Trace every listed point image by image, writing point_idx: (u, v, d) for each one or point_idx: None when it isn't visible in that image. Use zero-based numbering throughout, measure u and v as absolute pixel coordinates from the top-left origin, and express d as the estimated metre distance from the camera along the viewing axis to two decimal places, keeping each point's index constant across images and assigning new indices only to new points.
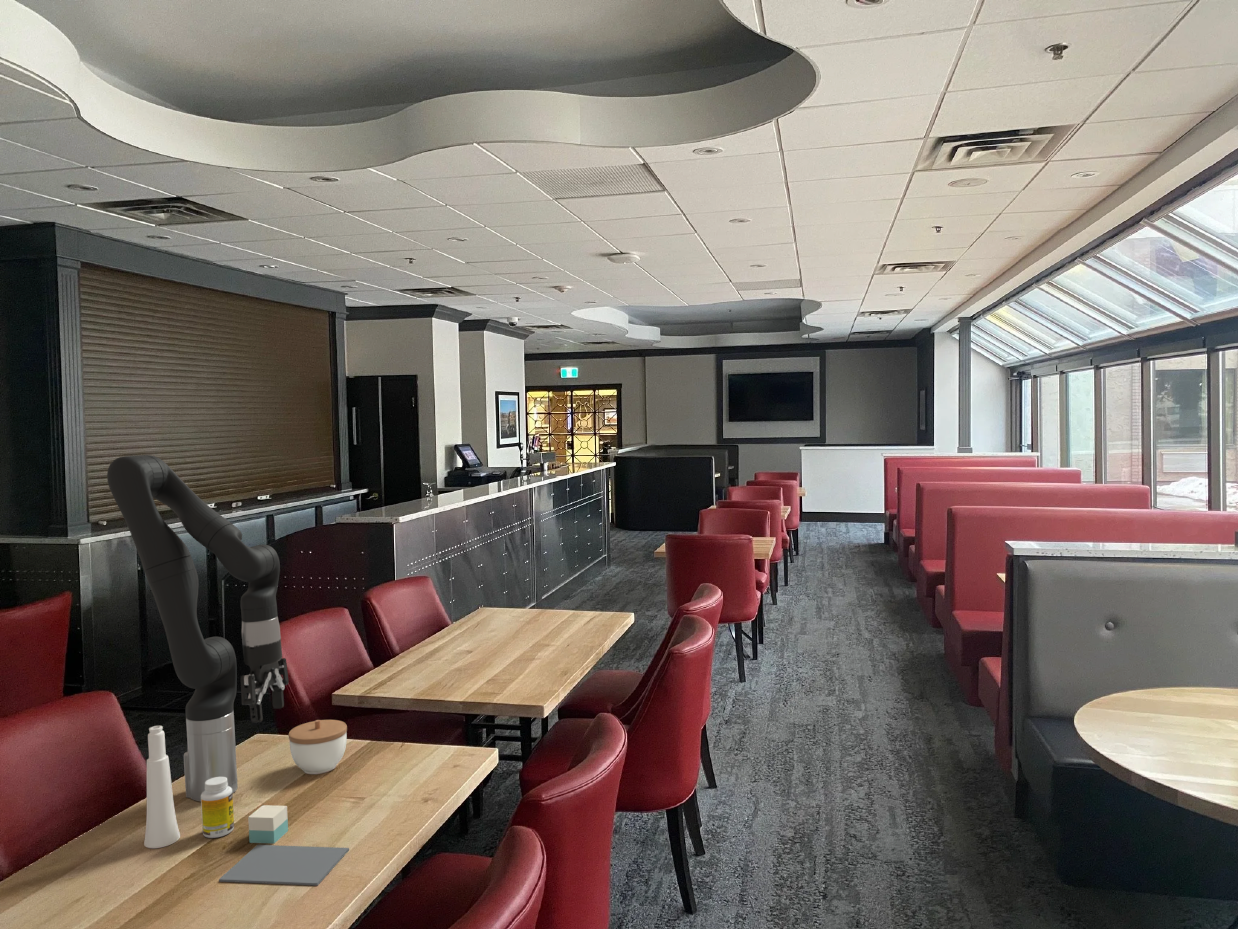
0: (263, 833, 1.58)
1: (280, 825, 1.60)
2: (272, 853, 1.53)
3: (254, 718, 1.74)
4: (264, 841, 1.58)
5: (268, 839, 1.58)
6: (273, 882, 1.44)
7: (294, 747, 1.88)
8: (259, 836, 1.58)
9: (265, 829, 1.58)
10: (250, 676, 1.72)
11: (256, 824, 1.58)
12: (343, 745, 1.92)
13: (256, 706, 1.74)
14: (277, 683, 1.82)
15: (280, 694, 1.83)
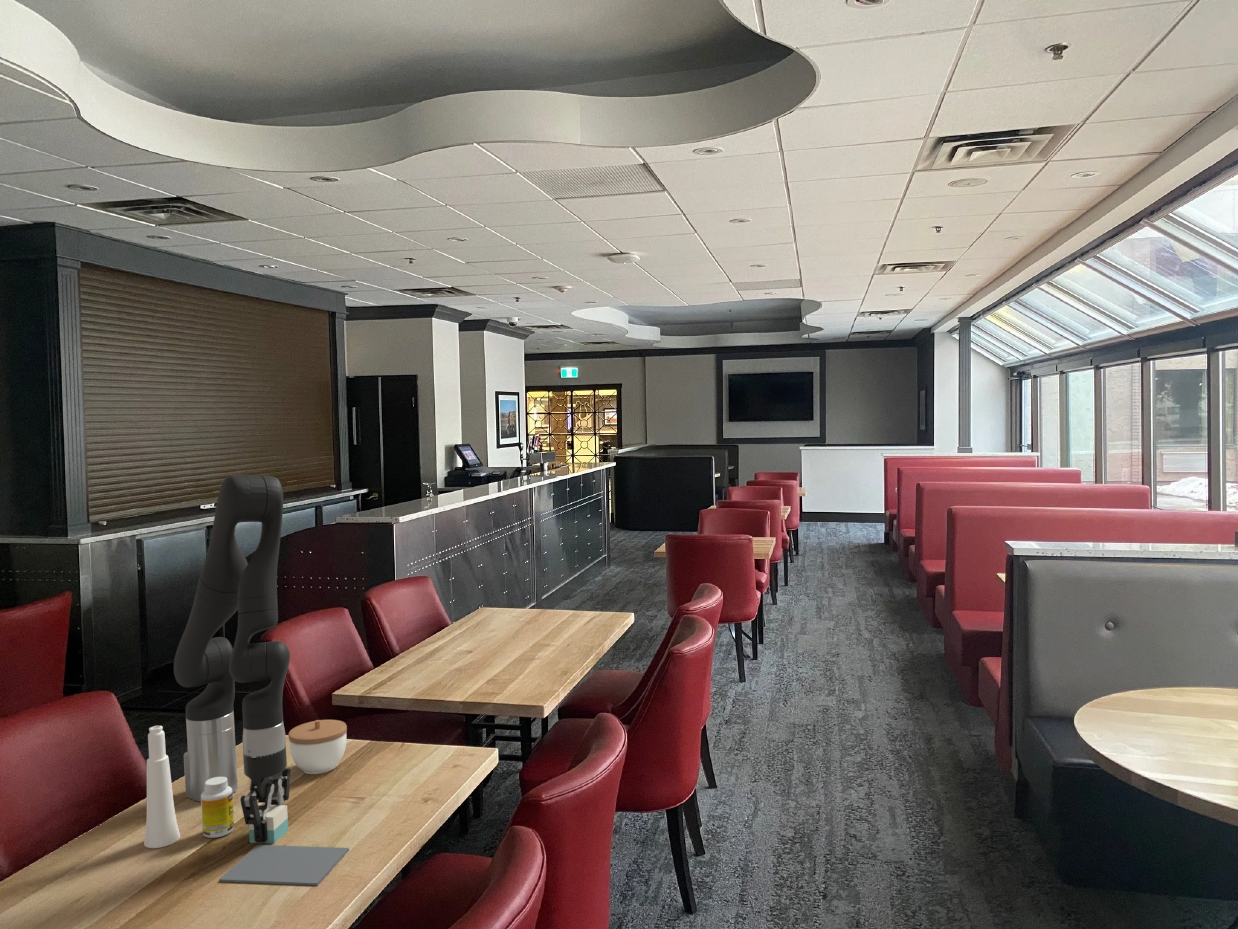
0: None
1: (280, 825, 1.60)
2: (272, 853, 1.53)
3: (258, 838, 1.57)
4: None
5: (268, 839, 1.58)
6: (273, 882, 1.44)
7: (294, 747, 1.88)
8: None
9: None
10: (251, 798, 1.54)
11: None
12: (343, 745, 1.92)
13: (261, 825, 1.57)
14: (277, 797, 1.62)
15: None
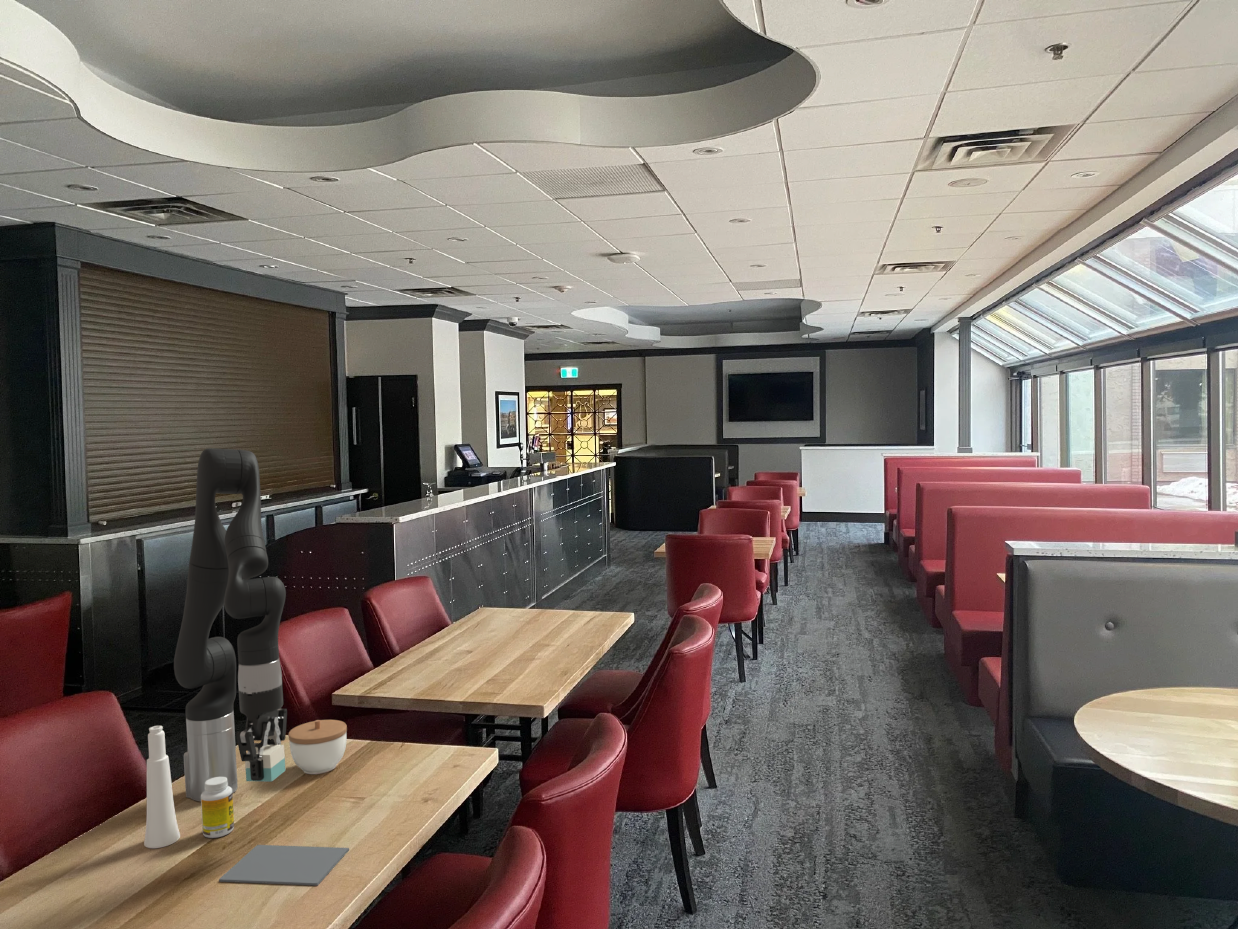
0: None
1: (277, 764, 1.58)
2: (272, 853, 1.53)
3: (254, 776, 1.55)
4: None
5: (265, 777, 1.56)
6: (273, 882, 1.44)
7: (294, 747, 1.88)
8: None
9: None
10: (247, 734, 1.51)
11: None
12: (343, 745, 1.92)
13: (257, 762, 1.54)
14: (274, 736, 1.60)
15: None
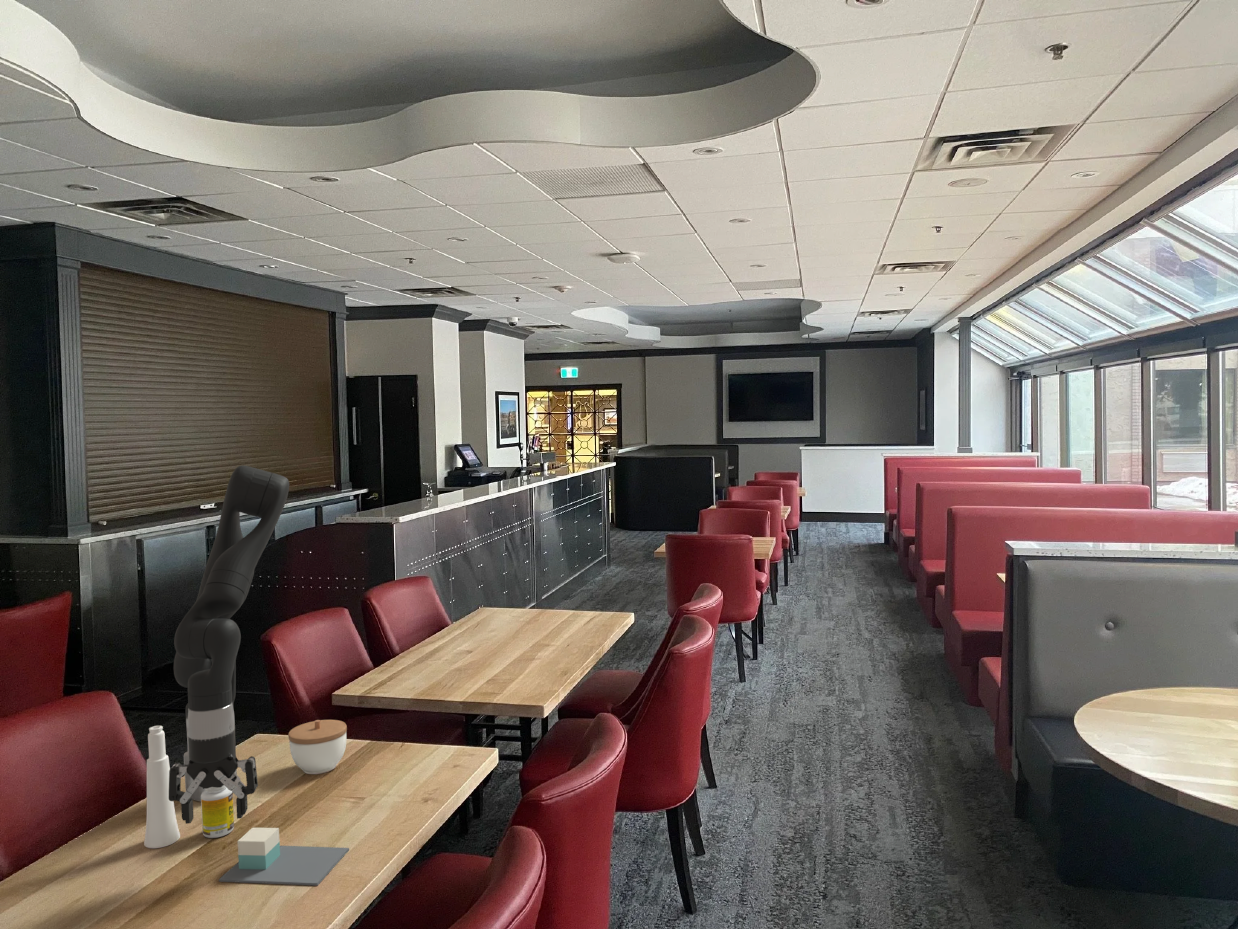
0: (254, 858, 1.48)
1: (272, 849, 1.50)
2: None
3: None
4: (255, 866, 1.48)
5: (259, 865, 1.48)
6: (273, 882, 1.44)
7: (294, 747, 1.88)
8: (249, 861, 1.48)
9: (256, 854, 1.48)
10: (171, 768, 1.48)
11: (246, 848, 1.48)
12: (343, 745, 1.92)
13: (182, 804, 1.48)
14: None
15: None
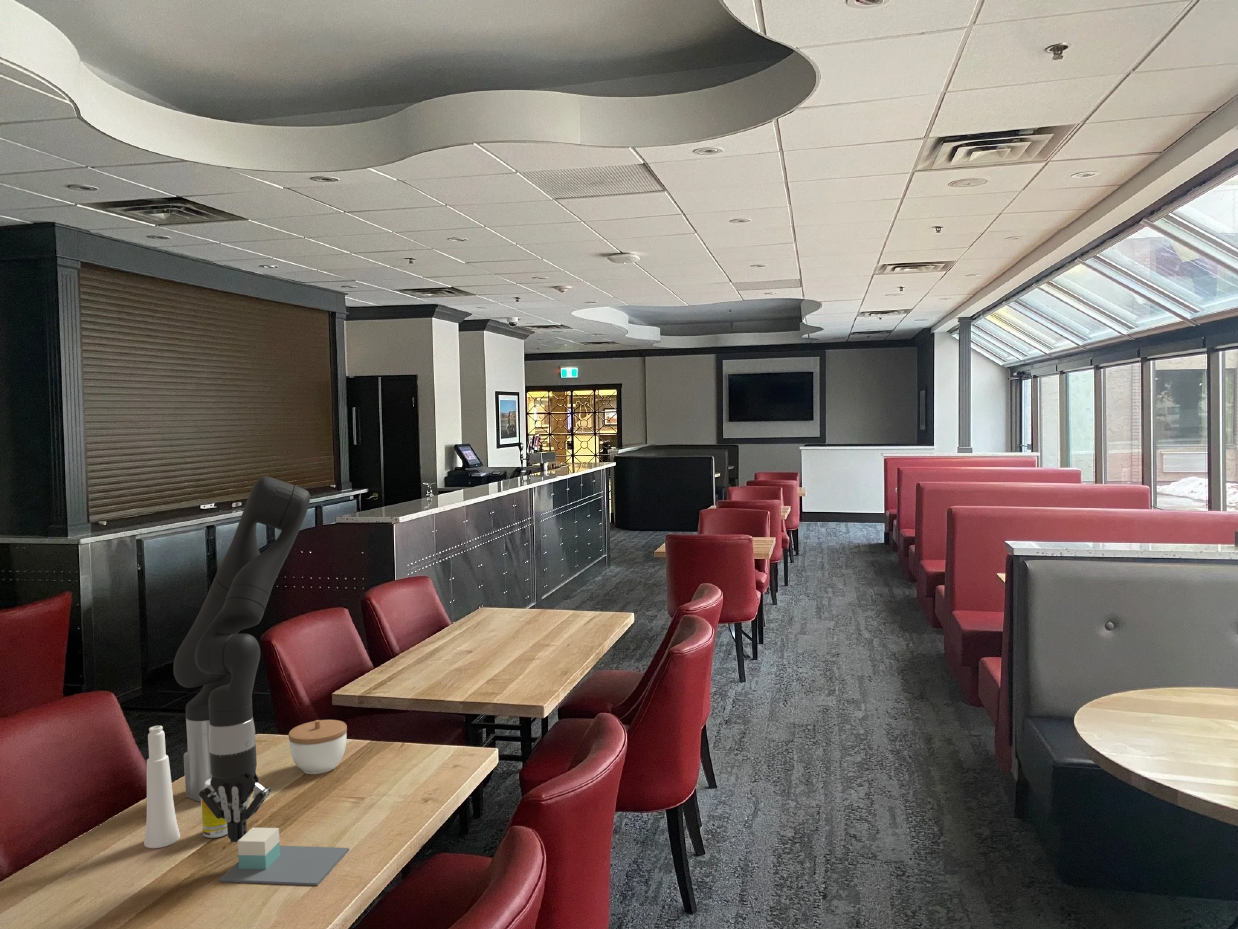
0: (254, 858, 1.48)
1: (272, 849, 1.50)
2: None
3: None
4: (255, 866, 1.48)
5: (259, 865, 1.48)
6: (273, 882, 1.44)
7: (294, 747, 1.88)
8: (249, 861, 1.48)
9: (256, 854, 1.48)
10: None
11: (246, 848, 1.48)
12: (343, 745, 1.92)
13: (228, 822, 1.50)
14: None
15: None
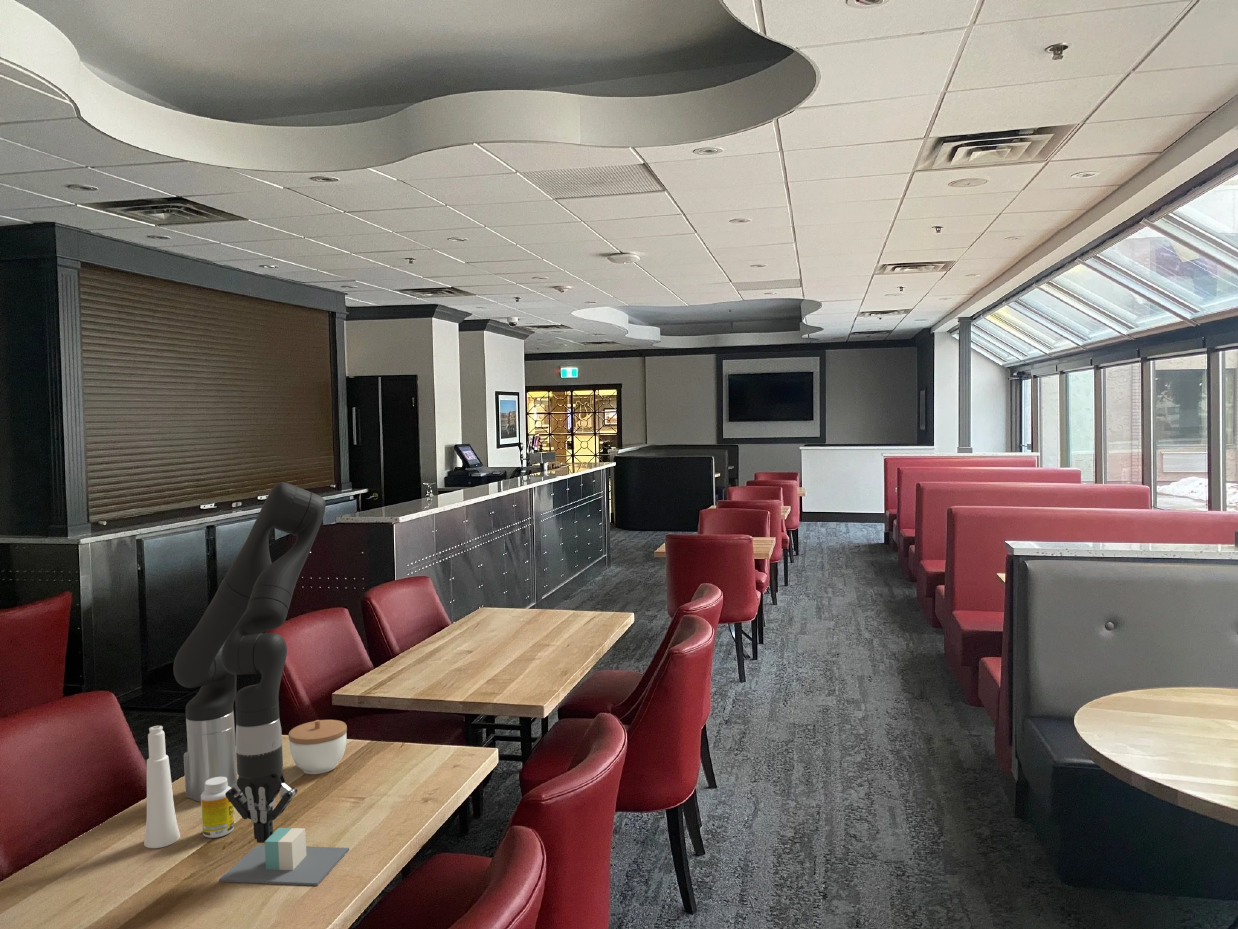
0: (276, 858, 1.47)
1: None
2: None
3: None
4: (267, 858, 1.48)
5: (269, 862, 1.48)
6: (273, 882, 1.44)
7: (294, 747, 1.88)
8: (272, 853, 1.47)
9: (280, 860, 1.47)
10: None
11: (284, 850, 1.47)
12: (343, 745, 1.92)
13: (254, 823, 1.49)
14: None
15: None
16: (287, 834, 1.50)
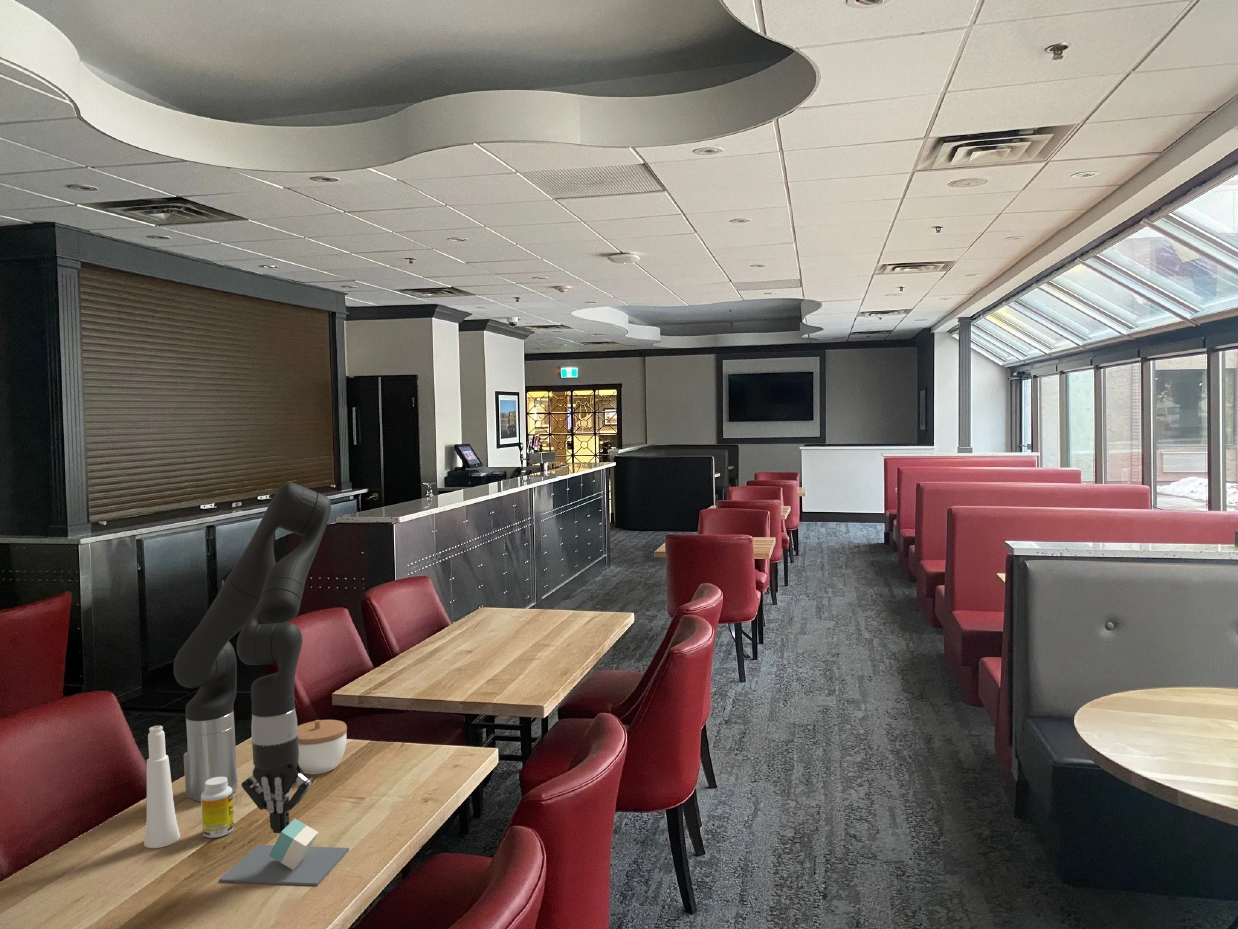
0: (283, 851, 1.47)
1: None
2: None
3: None
4: (275, 847, 1.47)
5: (275, 852, 1.47)
6: (273, 882, 1.44)
7: None
8: (282, 845, 1.47)
9: (286, 855, 1.47)
10: None
11: (295, 850, 1.47)
12: (343, 745, 1.92)
13: (270, 813, 1.49)
14: None
15: None
16: (302, 832, 1.50)
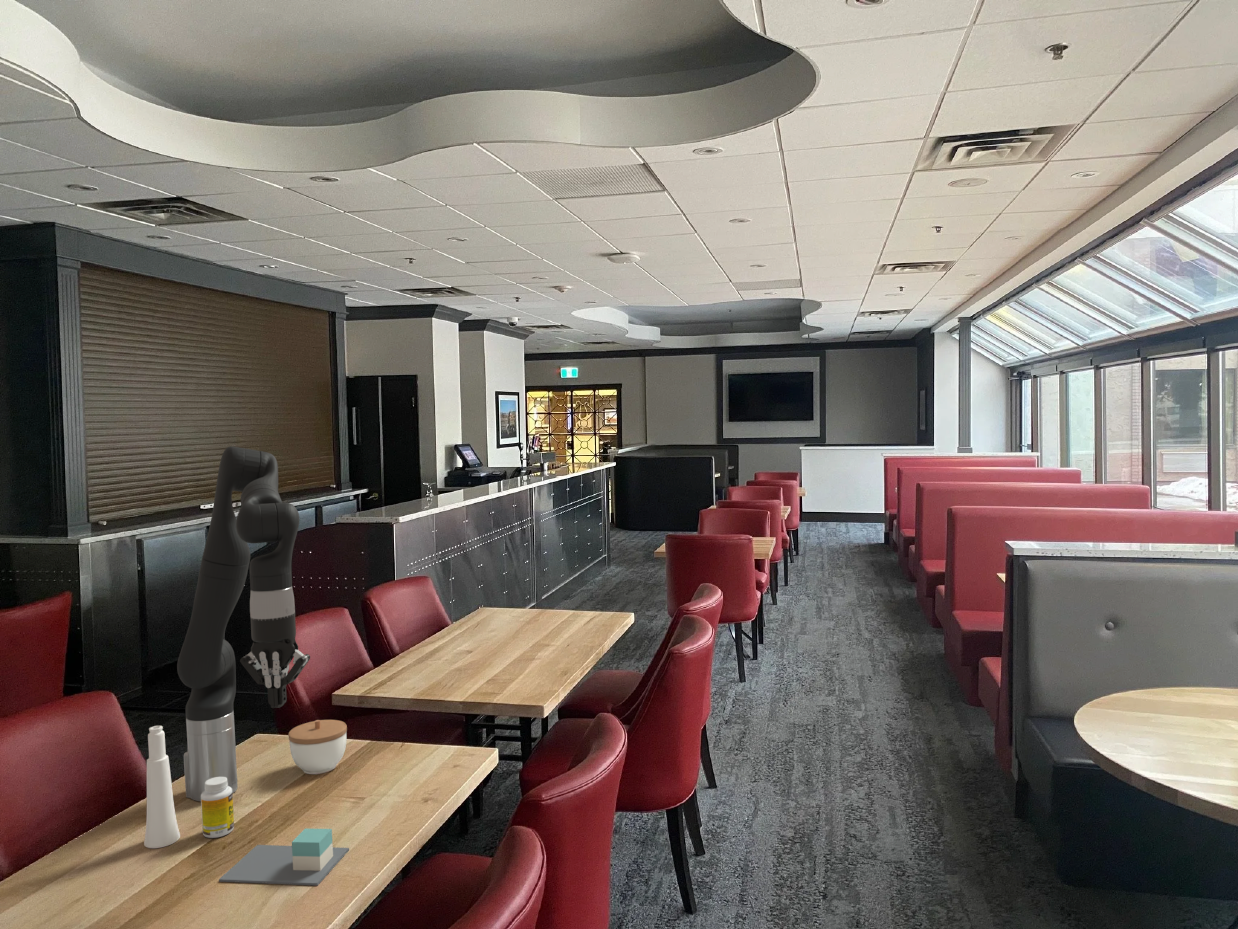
0: (303, 853, 1.47)
1: None
2: (272, 853, 1.53)
3: None
4: (302, 844, 1.47)
5: (298, 846, 1.47)
6: (273, 882, 1.44)
7: (294, 747, 1.88)
8: (308, 850, 1.47)
9: (301, 857, 1.47)
10: None
11: (311, 863, 1.47)
12: (343, 745, 1.92)
13: (268, 688, 1.53)
14: None
15: None
16: (326, 850, 1.49)
